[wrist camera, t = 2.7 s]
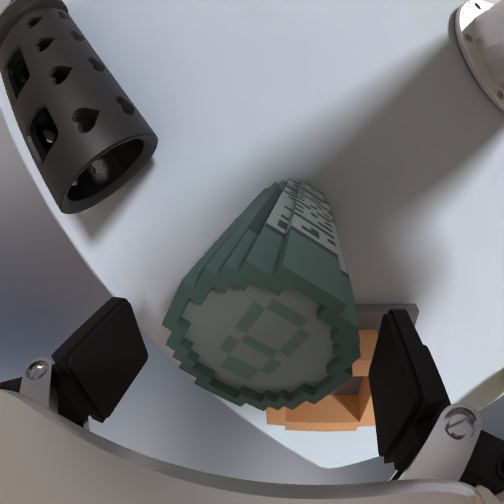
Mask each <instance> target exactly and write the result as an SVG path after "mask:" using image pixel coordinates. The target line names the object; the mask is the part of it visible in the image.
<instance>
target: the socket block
mask: <svg viewBox="0 0 504 504" xmlns="http://www.w3.org/2000/svg"><path fill="white" fill-rule="evenodd" d="M355 307H356V312H357V316H358V322H359V327H360V328H359V329H358V331H359V337H360V344H359V346H360V352H361V357H360V358H359V359H358V360H356V361H355V362H354V363H353V364H352V371H353V376H352V377H351V378H349V379H348V380H347V381H346V382H344V383H343V384H342V385H340V386H339V387H338V388H337V389H335V390H334V391H333V392H331V393H330V394H329V395H327V396H326V397H324V398H323V399H322V400H320V401H319V402H317V403H316V404H312V403H310V402H307V401H305V402H304V403H302V404H301V405H299V406H298V407H297V408H295V409H294V410H291V409H289V408H287V407H282V408H281V409H280V410H275V409H273V408H271V407H268V408H267V409H265V410H266V415H267V424H272V425H283V426H285V430H297V431H356V429H357V427H359V426H374V425H375V417H374V410H373V403H372V396H371V390H370V384H369V377H368V375H369V368H370V365H371V361H372V358H373V354H374V350H375V346H376V343H377V339H378V334H379V330H380V326H381V321H382V317H383V315H384V314H388V311H389V310H390V309H406V311H407V312H408V314H409V316H410V318H411V320H412V323H413V325H414V326H415V323H416V320H417V316H418V313H419V310H418V308H417V306H416V304H395V305H355Z"/></svg>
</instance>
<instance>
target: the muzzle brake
mask: <svg viewBox="0 0 504 504" xmlns="http://www.w3.org/2000/svg"><path fill="white" fill-rule="evenodd" d="M0 72H1V75H2V79H3V82H4V86H5V89H6V92H7V95H8V98H9V101H10V104H11V107H12V110H13V113H14V115H15V118H16V121H17V123H18V126H19V128H20V130H21V133H22V135H23V138H24V140H25V142H26V145H27V147H28V149H29V151H30V153H31V156H32V158H33V160H34V162H35V164H36V166H37V168H38V170H39V172H40V174H41V176H42V178H43V180H44V182H45V183H46V185H47V187H48V189H49V191H50V193H51V195H52V196H53V198H54V200H55V202H56V203H57V205H58V207H59V209H60V210H61V212H63V213H65V214H74V213H78V212H81V211H84V210H86V209H88V208H90V207H92V206H94V205H96V204H97V203H99V202H101V201H102V200H104V199H105V198H107V197H108V196H110V195H111V194H112V193H114V192H115V191H116V190H118V189H119V188H120V187H122V186H123V185H124V184H125V183H126V182H128V181H129V180H130V179H131V178H132V177H133V176H134V175H135V174H136V173H137V172H138V171H139V170H140V169H141V168H142V167H143V166H144V165H145V164H146V163H147V162H148V160H149V159H150V158H151V156H152V155H153V153H154V152H155V150H156V147H157V144H158V138H157V136H156V134H155V133H154V132H153V130H152V129H151V128H150V126H149V125H148V124H147V122H146V121H145V120H144V118H143V117H142V115H141V114H140V113H139V111H138V110H137V109H136V107H135V106H134V104H133V103H132V102H131V100H130V99H129V98H128V96H127V95H126V93H125V92H124V91H123V89H122V88H121V87H120V85H119V84H118V82H117V81H116V80H115V78H114V77H113V76H112V74H111V73H110V71H109V70H108V69H107V67H106V66H105V65H104V63H103V62H102V60H101V59H100V58H99V56H98V55H97V53H96V52H95V51H94V49H93V48H92V46H91V45H90V44H89V42H88V41H87V39H86V38H85V37H84V35H83V34H82V32H81V31H80V30H79V28H78V27H77V25H76V24H75V23H74V21H73V20H72V18H71V17H70V15H69V14H68V9H67V7H66V5H65V4H64V2H63V1H62V0H13V1H12V2H11V3H10V4H9V5H8V6H7V7H6V8H5V9H4V10H3V12H2V13H1V14H0ZM46 139H48V140H50V141H52V143H49V142H48V141H47V140H46ZM95 160H101V161H104V164H103V170H102V172H101V173H100V174H96V169H95V168H94V167H92V166H91V164H92V163H93V162H94V161H95ZM75 181H76V182H75ZM74 182H75V186H73V185H72V184H73V183H74Z"/></svg>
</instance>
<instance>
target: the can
mask: <svg viewBox="0 0 504 504" xmlns="http://www.w3.org/2000/svg"><path fill="white" fill-rule="evenodd" d="M162 325H163V326H165V327H166V328H168V329H170V330H171V331H172V333H171V335H170V337H169V339H168V341H167V343H166V345H167V346H169V347H171V348H172V349H174V350H175V353H174V355H173V356H172V357H174V358H176V359H177V360H179V361H181V362H182V363H181V365H180V367H179V368H180V369H182V370H184V371H186V372H187V373H189V374H191V375H193V376H194V377H196V378H197V379H196V381H195V384H197V385H199V386H200V387H202V388H204V389H206V390H208V391H210V392H212V393H214V394H216V395H218V396H220V397H222V398H224V399H226V400H228V401H230V402H232V403H234V404H236V405H238V406H240V407H241V406H242V405H243V404H245V403H247V404H249V405H252V406H254V407H256V408H258V409H261V410H263V411H264V410H265V409H267V408H268V407H271V408H273V409H275V410H280V409H281V408H282V407H287V408H289V409H291V410H294V409H295V408H297V407H298V406H299V405H301V404H302V403H304V402H305V401H307V402H310V403H312V404H316V403H317V402H319V401H320V400H322V399H323V398H324V397H326V396H327V395H329V394H330V393H331V392H333V391H334V390H335V389H337V388H338V387H339V386H340V385H342V384H343V383H344V382H346V381H347V380H348V379H349V378H351V377H352V376H353V371H352V364H353V363H354V362H355V361H356V360H358V359H359V358H360V357H361V352H360V346H359V344H360V337H359V331H358V329H359V328H360V327H359V322H358V316H357V312H356V307H355V302H354V297H353V293H352V288H351V284H350V280H349V275H348V271H347V267H346V263H345V259H344V255H343V251H342V247H341V244H340V240H339V236H338V233H337V229H336V226H335V222H334V219H333V215H332V212H331V209H330V205H329V204H328V203H327V202H325V199H324V195H323V194H322V193H321V192H319V191H317V190H316V189H314V188H313V187H311V186H310V185H308V184H307V183H305V182H303V181H302V180H301V181H300V183H299V185H298V184H297V183H295V182H294V181H292V180H290V179H289V181H288V182H287V183H286V182H284V181H282V182H281V183H280V185H279V184H277V183H276V182H275V183H274V184H273V185H272V187H271V188H270V189H269V190H268V189H266V188H265V189H264V190H263V191H262V192H261V193H260V195H259V196H258V197H257V198H256V199H255V200H254V201H253V202H252V203H251V204H250V205H249V206H248V207H247V209H246V210H245V211H244V212H243V213H242V214H241V215H240V216H239V217H238V218H237V219H236V220H235V222H234V223H233V224H232V225H231V226H230V227H229V228H228V229H227V230H226V231H225V233H224V234H223V235H222V236H221V237H220V238H219V239H218V240H217V241H216V243H215V244H214V245H213V246H212V247H211V248H210V249H209V250H208V252H207V253H206V254H205V255H204V256H203V257H202V258H201V259H200V261H199V262H198V263H197V264H196V265H195V266H194V267H193V269H192V270H191V271H190V272H189V273H188V274H187V275H186V277H185V278H184V279H183V280H182V281H181V283H180V286H179V288H178V290H177V292H176V294H175V296H174V299H173V301H172V303H171V305H170V307H169V309H168V312H167V314H166V316H165V318H164V321H163V323H162Z"/></svg>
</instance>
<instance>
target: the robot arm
mask: <svg viewBox="0 0 504 504" xmlns="http://www.w3.org/2000/svg"><path fill="white" fill-rule="evenodd" d="M455 30H456V35H457V39H458V43H459V45H460V48H461V51H462V54H463V56H464V58H465V60H466V62H467V65H468V67H469V68H470V70H471V72H472V74H473V75H474V77H475V79H476V80H477V82H478V83H479V85H480V86H481V88H482V89H483V91H484V92H485V93H486V94H487V95H488V97H489V98H490V99H491V100H492V101H493V102H494V103H495V104H496V105H497V106H498V108H500V109H501V110H502V111H503V112H504V0H502V1H500V2H498V3H496V4H495V5H492V4H490V3H487V2H485V1H481V0H470V1H468V2H465V3H464V4H463V5H462V6H460V7H459V9H458V11H457V13H456V17H455ZM51 356H52V358H53V360H54V362H55V364H54V365H52V363H51V361H50V360H49V359H48V358H44V357H43V358H37V359H35V360H33V361H31V362H30V363H29V364H28V365H27V366H26V367H25V369H24V372H23V376H22V377H20V378H17V379H13V380H9V381H5V382H2V383H0V504H504V441H503V440H501V439H499V438H497V437H495V436H493V435H491V434H489V433H487V432H485V431H483V430H481V426H482V423H481V418H480V416H479V413H478V412H477V411H476V410H475V409H474V408H473V407H471V406H470V405H468V404H464V403H455V404H452V405H451V403H450V400H449V398H448V395H447V392H446V390H445V387H444V384H443V382H442V379H441V377H440V374H439V372H438V370H437V367H436V365H435V363H434V360H433V358H432V356H431V353H430V351H429V349H428V347H427V346H426V345H423V344H422V342H421V340H420V337H419V335H418V333H417V331H416V329H415V327H414V325H413V323H412V320H411V318H410V316H409V314H408V312H407V311H406V309H390V310H389V311H388V314H384V315H383V317H382V321H381V326H380V330H379V334H378V339H377V343H376V346H375V350H374V354H373V358H372V361H371V365H370V368H369V375H368V377H369V384H370V390H371V396H372V403H373V410H374V417H375V425H376V433H377V443H378V452H379V456H384V463H391V462H394V465H395V469H396V470H397V471H396V472H395V473H394V475H393V476H392V477H391V479H390V480H389V481H384V482H373V483H360V484H344V485H295V484H278V483H267V482H257V481H250V480H242V479H236V478H229V477H225V476H219V475H214V474H210V473H205V472H200V471H197V470H193V469H189V468H185V467H181V466H177V465H174V464H171V463H168V462H164V461H161V460H158V459H155V458H152V457H149V456H147V455H143V454H141V453H138V452H136V451H133V450H131V449H128V448H125V447H123V446H120V445H118V444H116V443H114V442H111V441H109V440H107V439H105V438H103V437H100V436H98V435H96V434H94V433H92V432H90V429H89V421H88V416H89V415H90V416H91V417H92V418H93V419H94V420H97V421H99V422H101V423H103V422H104V420H105V419H106V418H108V417H109V416H110V415H111V413H112V412H113V410H114V409H115V407H116V406H117V404H118V403H119V401H120V400H121V398H122V397H123V395H124V394H125V392H126V391H127V389H128V388H129V386H130V385H131V383H132V382H133V380H134V379H135V377H136V376H137V375H138V373H139V372H140V370H141V369H142V367H143V366H144V364H145V363H146V361H147V359H148V353H147V350H146V347H145V345H144V342H143V339H142V336H141V333H140V331H139V328H138V325H137V322H136V319H135V316H134V313H133V310H132V306H131V304H130V303H129V302H128V301H127V299H125V298H119V297H112V298H111V299H110V300H109V301H107V302H106V303H105V304H104V305H103V306H102V307H101V308H100V309H99V310H98V311H97V312H96V313H94V314H93V315H92V316H91V317H90V318H89V319H88V320H87V321H86V322H85V323H84V324H83V325H82V326H81V327H80V328H79V329H77V330H76V331H75V332H74V333H73V334H72V335H71V336H70V337H69V338H68V339H67V340H66V341H65V342H64V343H63V344H62V345H61V346H60V347H59V348H58V349H57V350H56V351H55V352H54V353H53V354H52V355H51Z"/></svg>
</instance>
